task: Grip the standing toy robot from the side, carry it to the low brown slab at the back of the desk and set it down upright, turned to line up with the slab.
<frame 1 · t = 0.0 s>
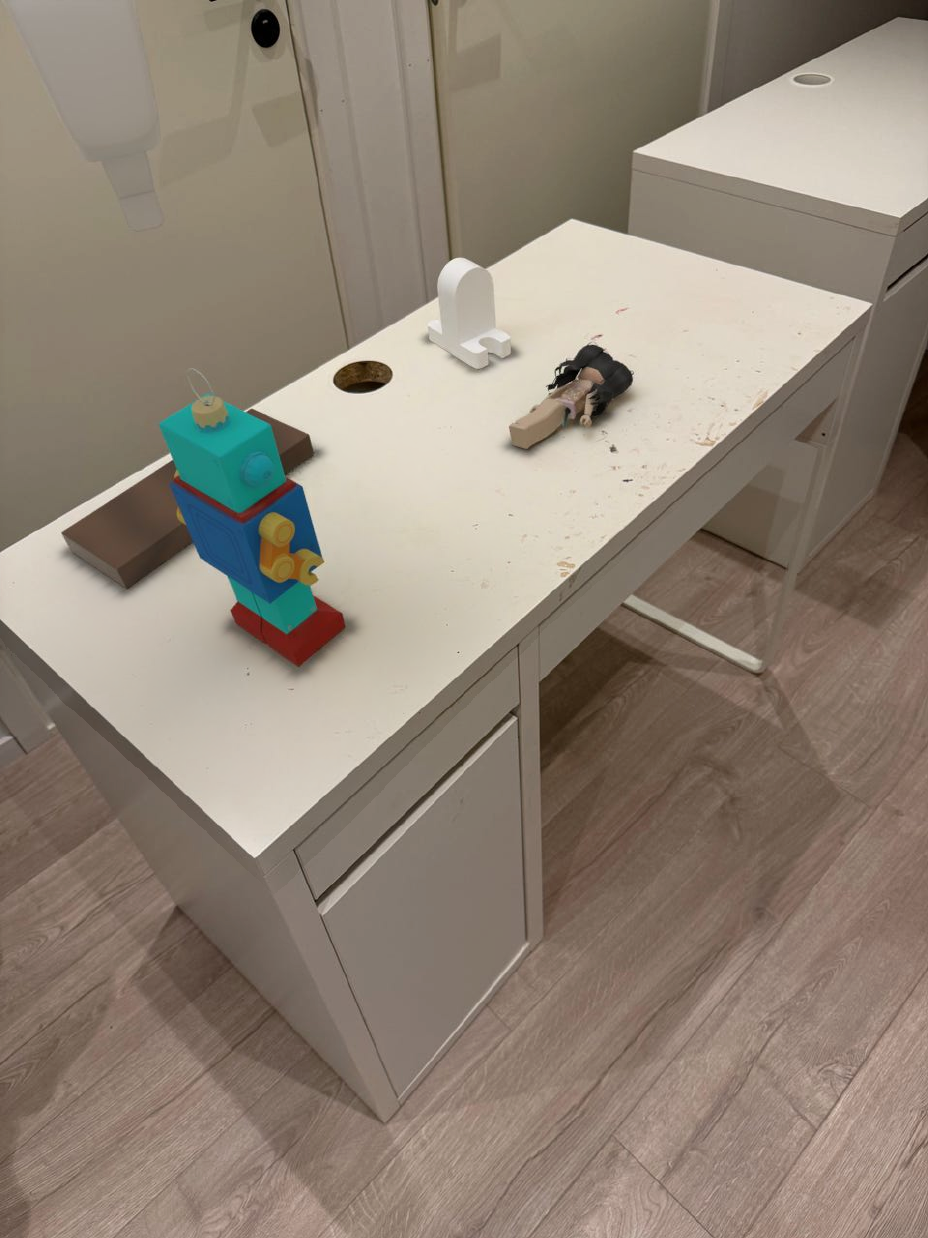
hand: (135, 193, 48), 36 cm above the table, tool pointing down, fingers open, 8 cm apart
brown slab: (198, 501, 88), on the table
toy robot: (288, 629, 75), on the table
toy figure: (572, 418, 93), on the table
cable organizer: (469, 347, 104), on the table
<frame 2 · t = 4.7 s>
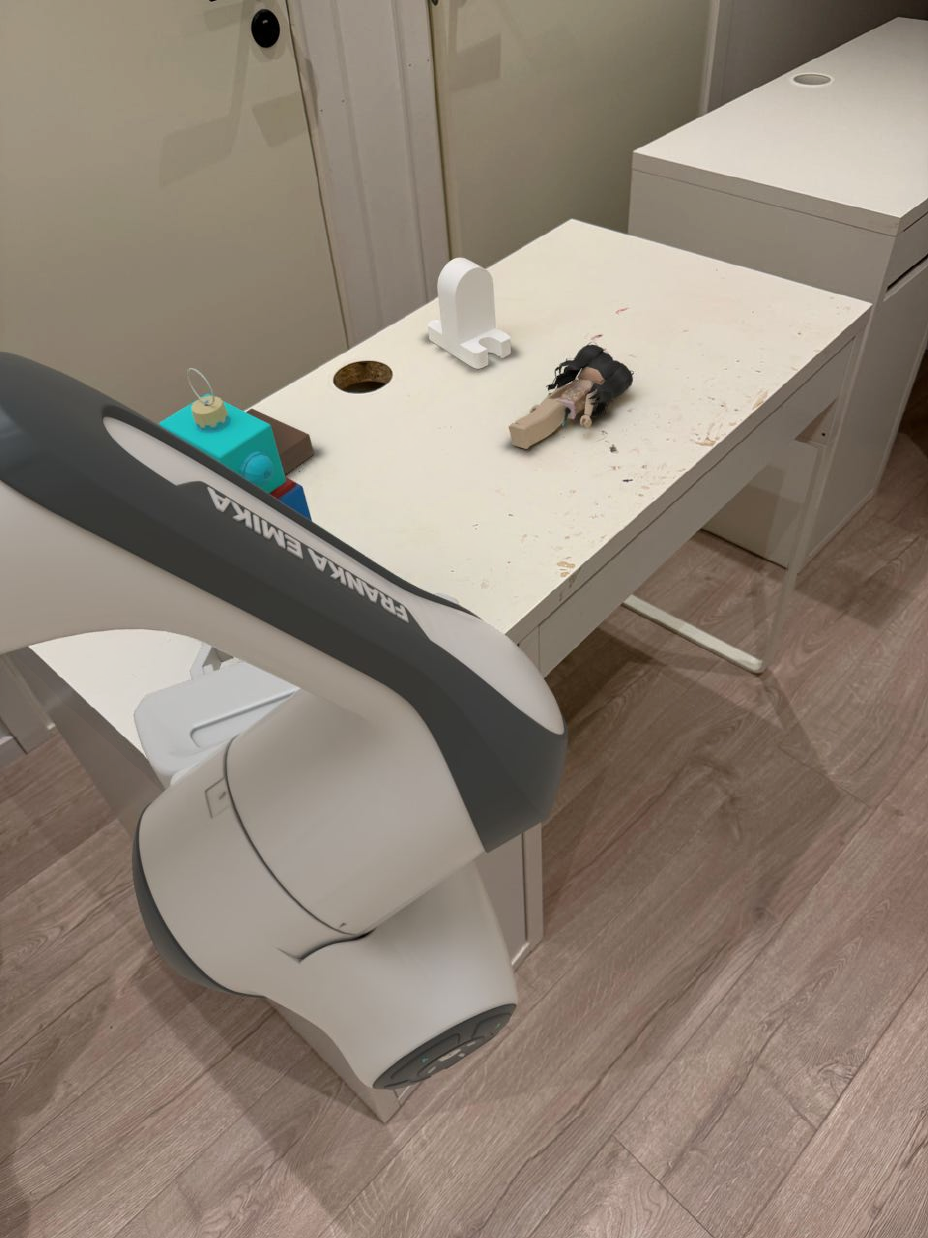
hand: (284, 609, 57), 14 cm above the table, tool horizontal, fingers open, 8 cm apart
nothing on the table moved.
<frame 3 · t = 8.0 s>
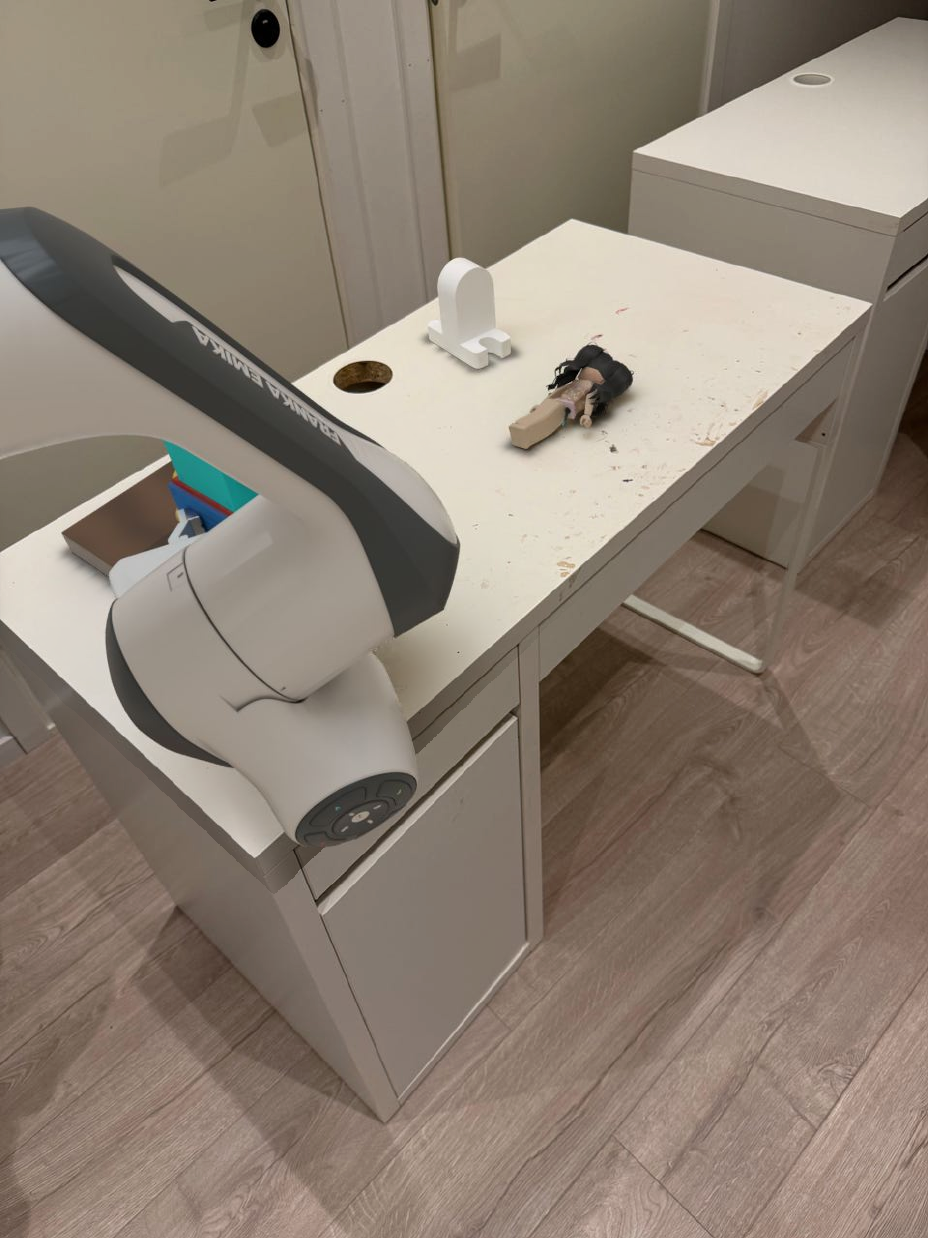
hand: (242, 498, 66), 14 cm above the table, tool horizontal, fingers closed on toy robot, 7 cm apart
toy robot: (288, 629, 75), on the table, touching gripper
everything else where it was.
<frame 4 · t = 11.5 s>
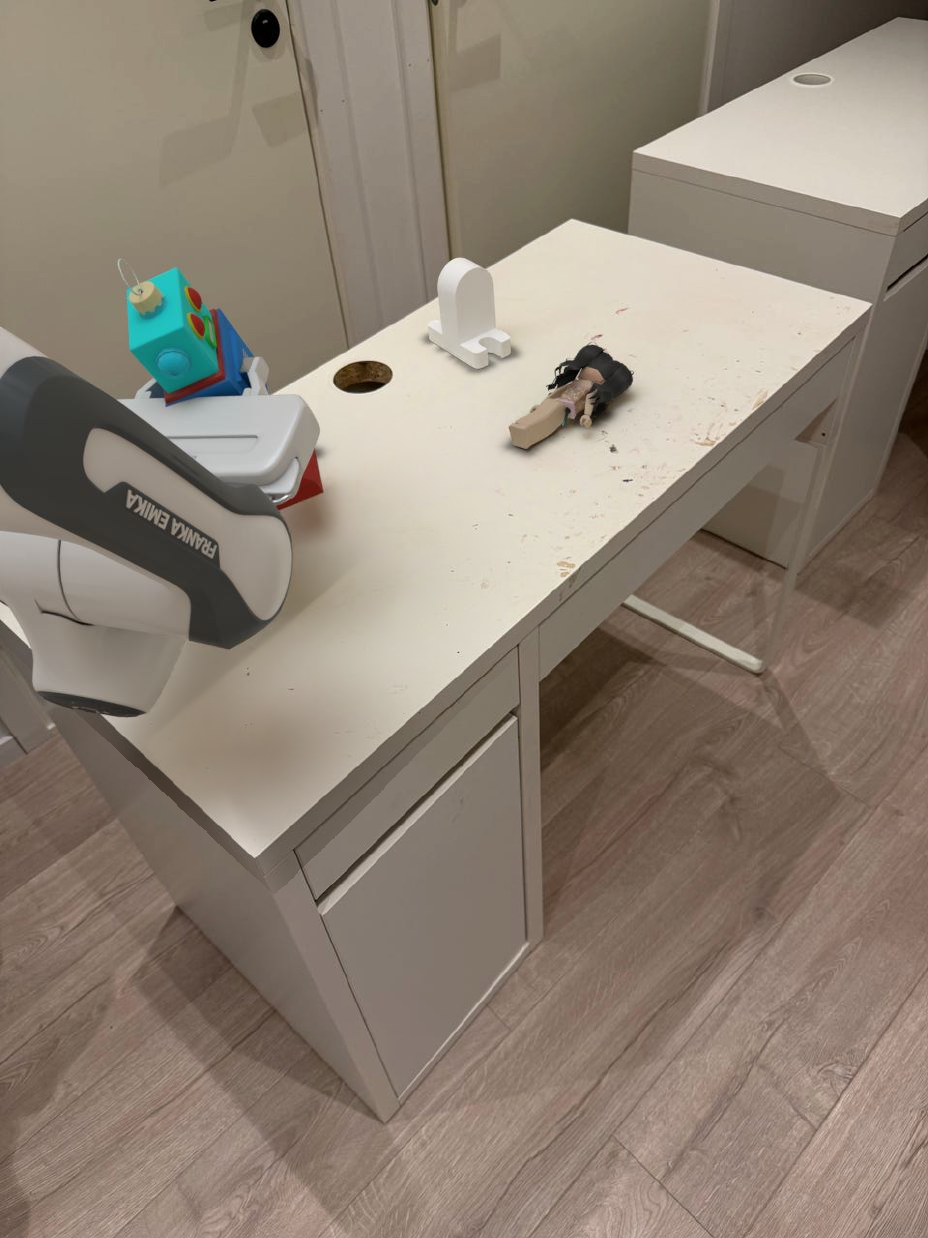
hand: (216, 363, 71), 18 cm above the table, tool pointing upward, fingers closed on toy robot, 6 cm apart
toy robot: (289, 473, 83), point 5 cm above the table, touching gripper
everything else where it was.
when the fingers open (16 cm above the table, at t = 15.0 s): toy robot stays where it is, resting on brown slab.
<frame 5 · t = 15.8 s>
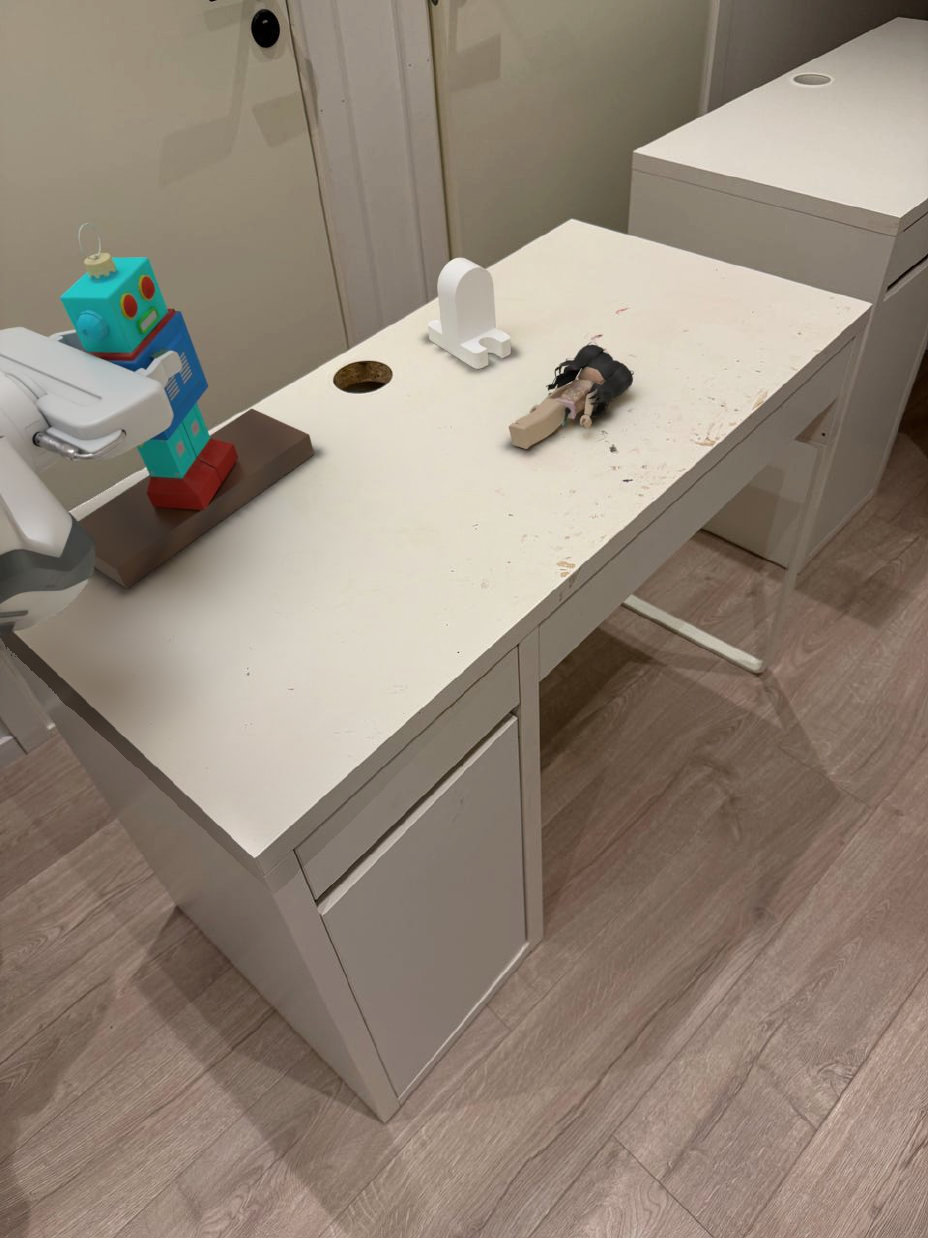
hand: (138, 343, 76), 17 cm above the table, tool horizontal, fingers open, 8 cm apart
toy robot: (194, 483, 86), point 2 cm above the table, touching brown slab
everything else where it was.
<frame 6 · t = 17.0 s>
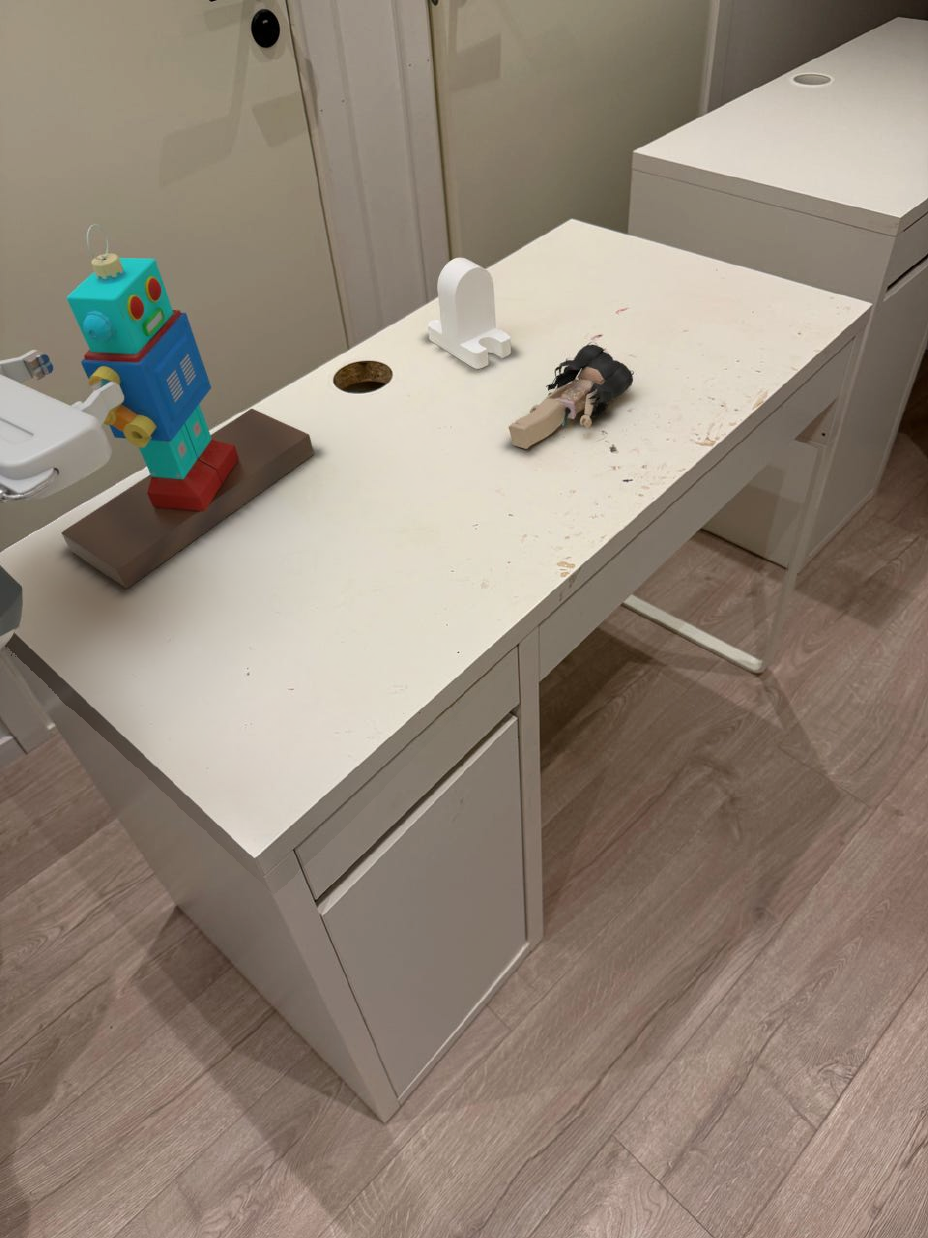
hand: (80, 373, 73), 17 cm above the table, tool horizontal, fingers open, 8 cm apart
nothing on the table moved.
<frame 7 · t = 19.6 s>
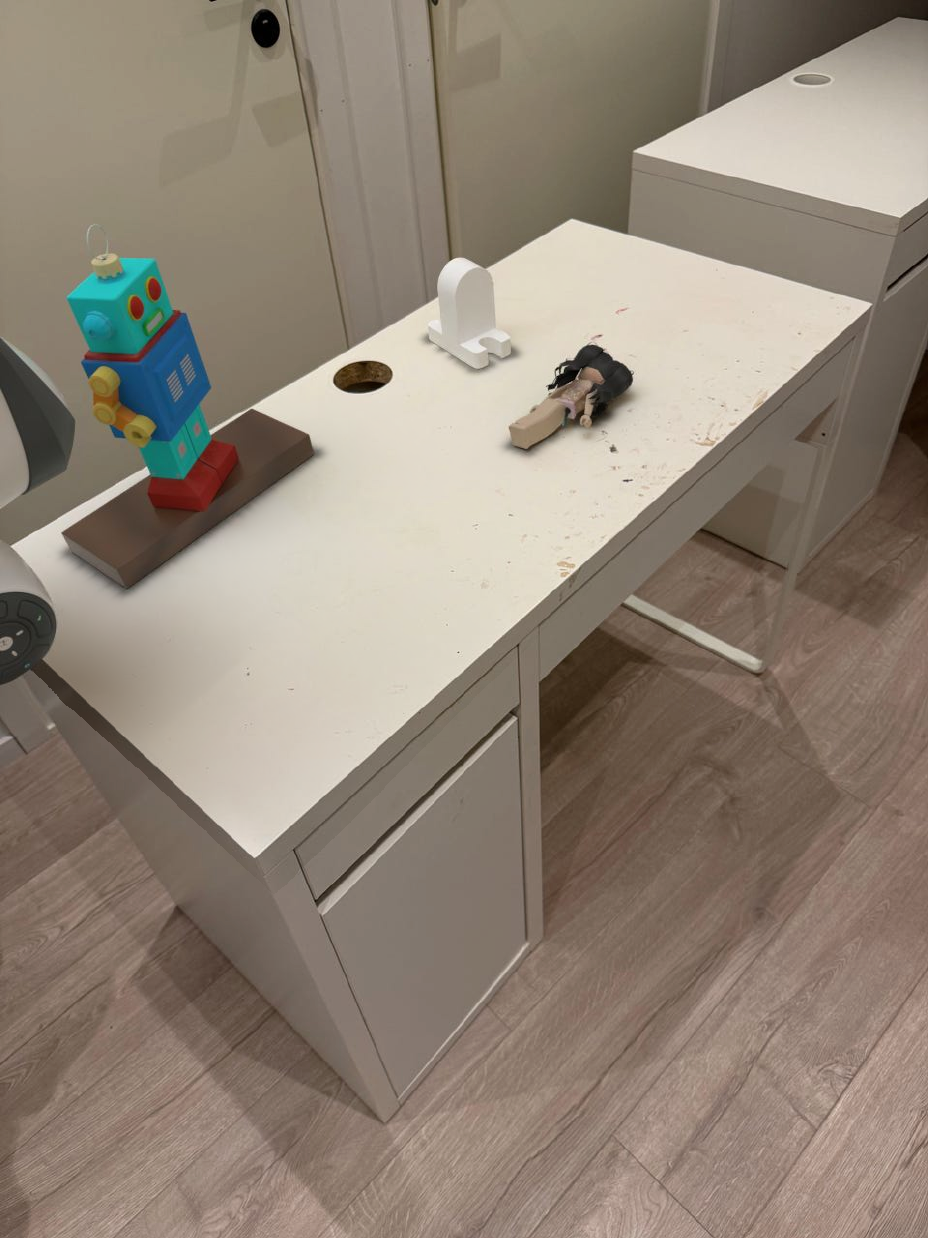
nothing on the table moved.
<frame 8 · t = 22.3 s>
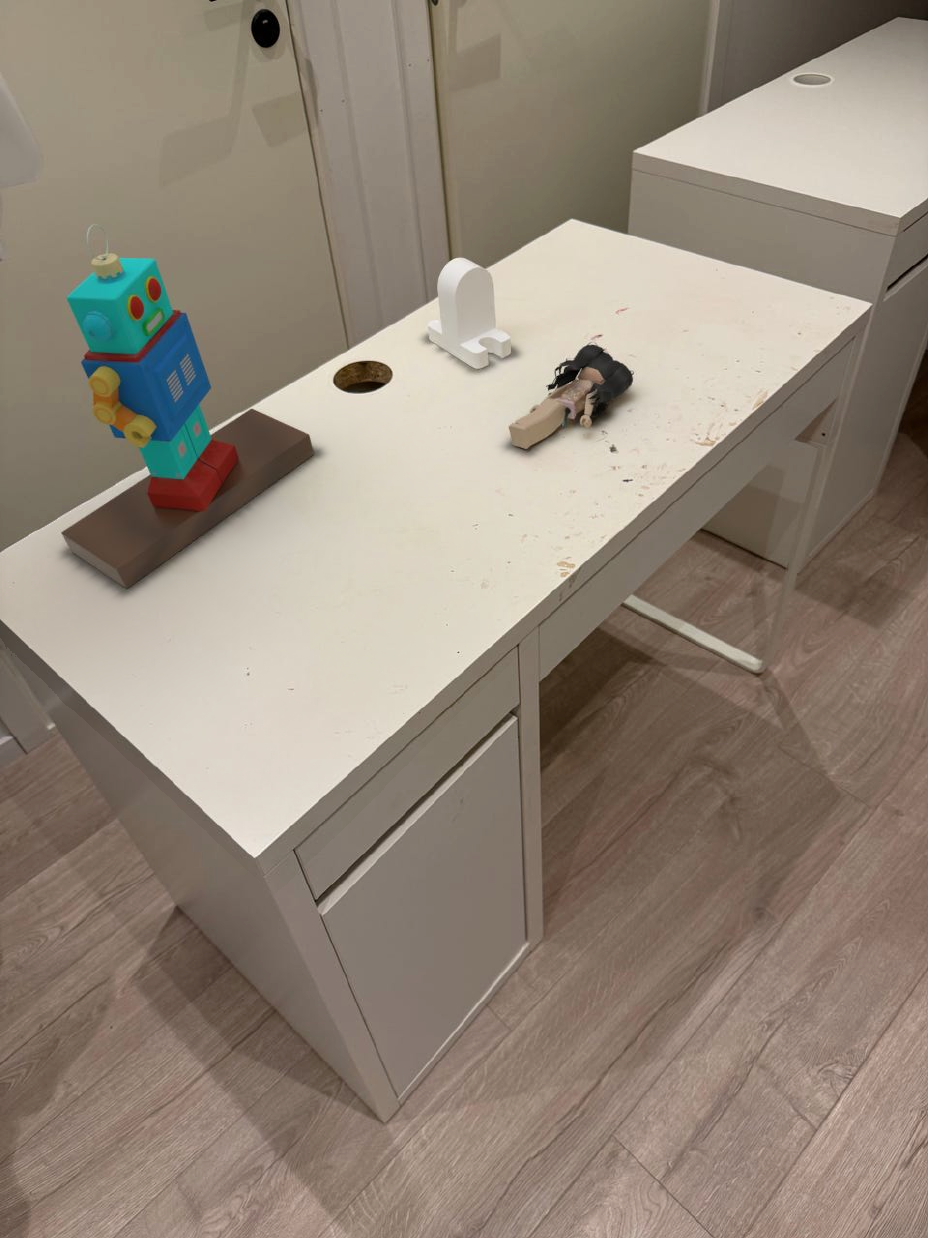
nothing on the table moved.
at the end: toy robot 0.6 cm off-centre on the brown slab, point 2.3 cm above the brown slab's base; toy robot tilted 0°; the gripper is holding nothing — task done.
